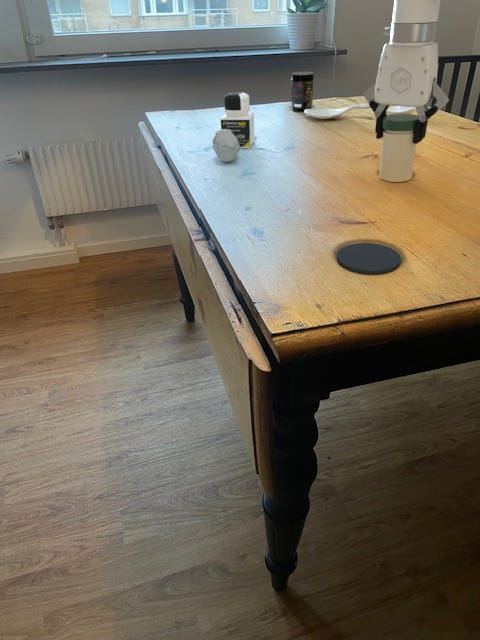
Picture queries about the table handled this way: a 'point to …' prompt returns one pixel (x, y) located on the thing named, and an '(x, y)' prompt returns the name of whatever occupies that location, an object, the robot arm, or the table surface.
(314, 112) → the spoon
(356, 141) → the table surface
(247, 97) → the medicine bottle
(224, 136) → the grey rock
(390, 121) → the jar lid
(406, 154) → the jar
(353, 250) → the coaster
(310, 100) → the supplement container
